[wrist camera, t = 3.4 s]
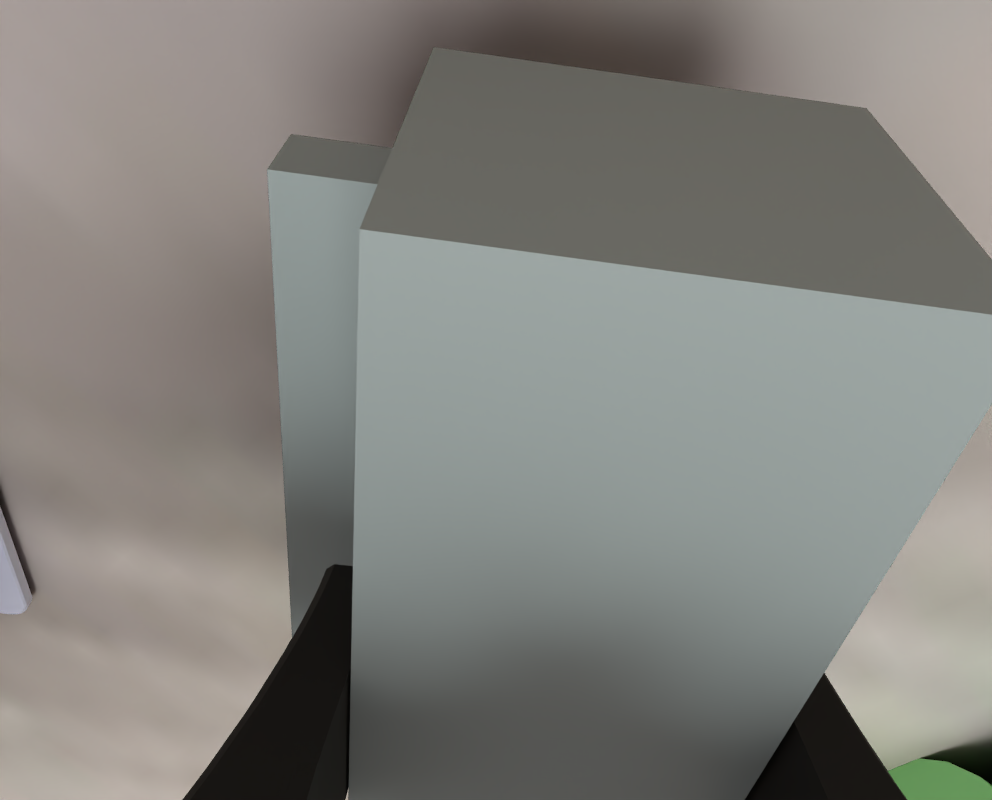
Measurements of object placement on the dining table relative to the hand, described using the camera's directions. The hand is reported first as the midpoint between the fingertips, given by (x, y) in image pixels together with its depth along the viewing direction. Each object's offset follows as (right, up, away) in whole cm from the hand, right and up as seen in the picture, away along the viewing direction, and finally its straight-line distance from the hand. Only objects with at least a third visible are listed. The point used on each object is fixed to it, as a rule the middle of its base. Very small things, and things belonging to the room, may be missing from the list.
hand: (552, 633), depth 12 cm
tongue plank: (0, +2, +2) cm, 2 cm away
